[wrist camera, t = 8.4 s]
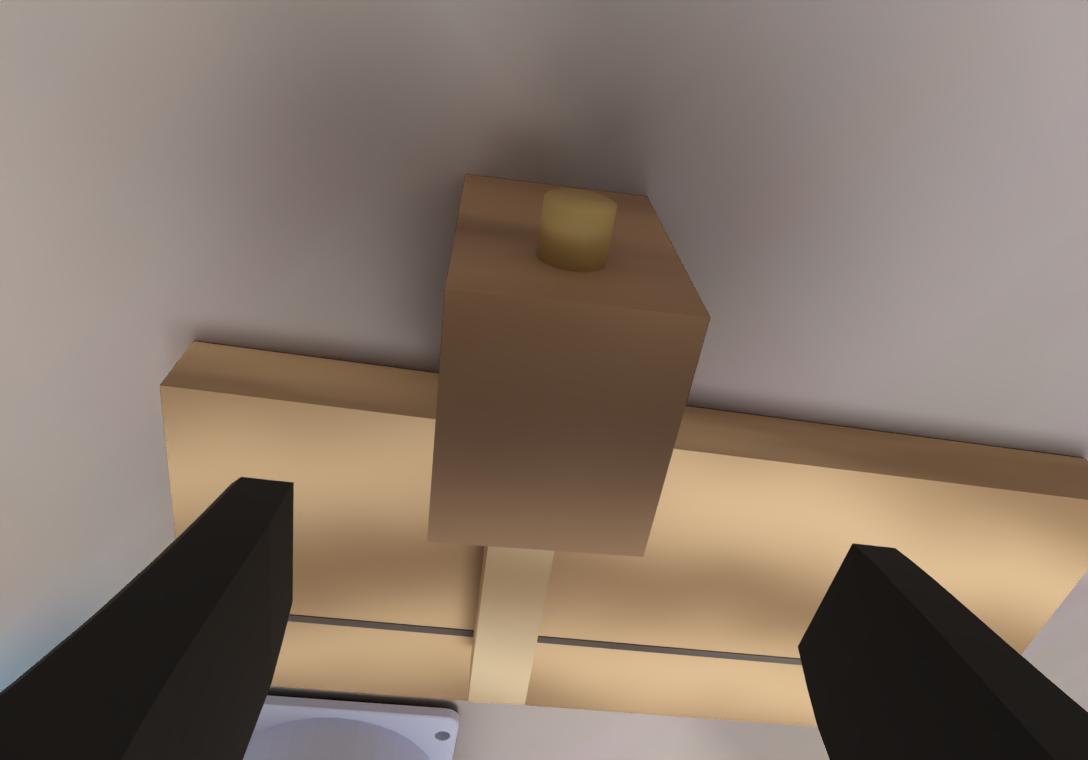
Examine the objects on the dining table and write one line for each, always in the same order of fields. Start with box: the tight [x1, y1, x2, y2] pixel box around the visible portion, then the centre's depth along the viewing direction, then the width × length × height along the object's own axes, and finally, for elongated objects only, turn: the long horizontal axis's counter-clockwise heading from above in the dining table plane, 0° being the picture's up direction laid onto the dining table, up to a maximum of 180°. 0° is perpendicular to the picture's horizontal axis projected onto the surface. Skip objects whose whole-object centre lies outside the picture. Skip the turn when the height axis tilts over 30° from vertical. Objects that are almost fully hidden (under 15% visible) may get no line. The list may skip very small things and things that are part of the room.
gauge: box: [427, 174, 710, 705], centre depth 16 cm, size 14×4×6 cm, turn 172°
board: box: [160, 341, 1088, 727], centre depth 21 cm, size 10×24×2 cm, turn 80°
